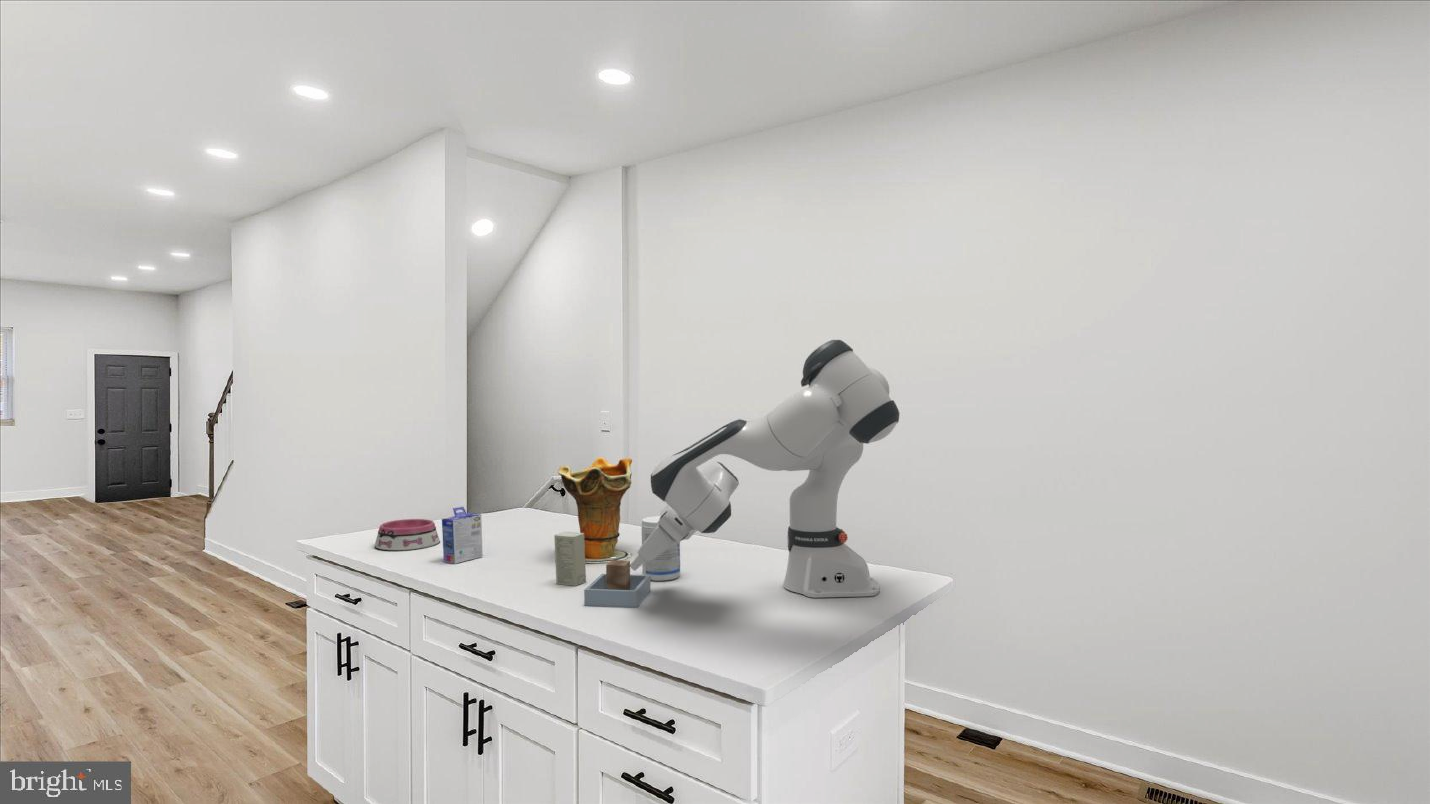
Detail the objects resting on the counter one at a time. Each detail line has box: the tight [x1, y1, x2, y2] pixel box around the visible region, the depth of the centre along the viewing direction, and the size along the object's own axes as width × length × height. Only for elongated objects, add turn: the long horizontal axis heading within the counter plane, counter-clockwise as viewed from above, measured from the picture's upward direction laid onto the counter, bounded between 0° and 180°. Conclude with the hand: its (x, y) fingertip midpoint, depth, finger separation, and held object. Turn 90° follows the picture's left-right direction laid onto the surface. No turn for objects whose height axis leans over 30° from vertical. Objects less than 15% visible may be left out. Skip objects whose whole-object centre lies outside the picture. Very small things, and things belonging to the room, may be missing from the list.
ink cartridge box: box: [441, 506, 484, 565], centre depth 205 cm, size 10×6×14 cm, turn 148°
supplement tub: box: [641, 515, 681, 582], centre depth 185 cm, size 10×10×15 cm
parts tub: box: [583, 573, 652, 608], centre depth 168 cm, size 12×14×4 cm
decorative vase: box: [557, 456, 633, 564], centre depth 207 cm, size 21×23×28 cm
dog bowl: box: [374, 518, 441, 553], centre depth 225 cm, size 18×19×7 cm
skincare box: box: [553, 531, 587, 587], centre depth 180 cm, size 6×4×12 cm
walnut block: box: [605, 560, 631, 590], centre depth 168 cm, size 4×4×8 cm
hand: (637, 562), depth 166 cm, fingers open, 8 cm apart
